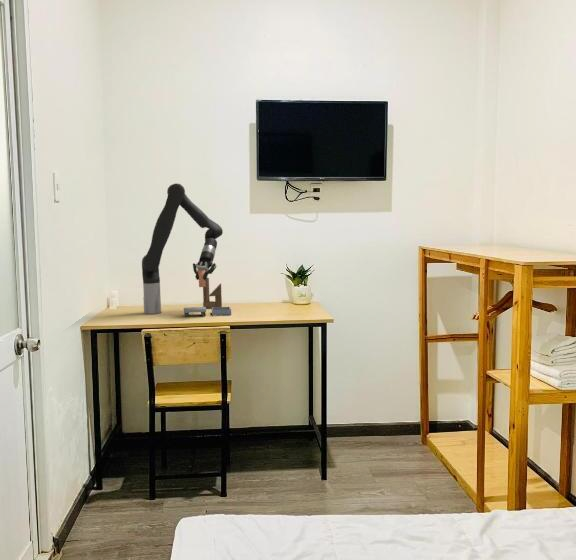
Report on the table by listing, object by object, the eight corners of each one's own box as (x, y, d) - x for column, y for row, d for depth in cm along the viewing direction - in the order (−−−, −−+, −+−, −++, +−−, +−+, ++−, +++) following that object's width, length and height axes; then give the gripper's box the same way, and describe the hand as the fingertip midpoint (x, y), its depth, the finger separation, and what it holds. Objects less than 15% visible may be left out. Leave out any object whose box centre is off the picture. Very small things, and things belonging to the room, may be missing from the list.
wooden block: (221, 307, 346) (221, 277, 344) (203, 308, 344) (202, 278, 342) (221, 306, 350) (220, 276, 348) (203, 307, 348) (202, 277, 346)
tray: (212, 315, 320) (212, 310, 320) (211, 312, 330) (211, 307, 330) (231, 315, 322) (231, 309, 322) (229, 311, 332) (229, 306, 332)
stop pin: (198, 287, 319) (197, 266, 317) (198, 286, 323) (197, 266, 322) (206, 286, 319) (205, 266, 318) (206, 285, 324) (205, 265, 322)
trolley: (183, 317, 317) (183, 310, 316) (184, 314, 325) (183, 307, 324) (206, 316, 319) (206, 309, 318) (205, 313, 327) (205, 306, 326)
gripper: (193, 250, 328) (186, 274, 318) (217, 250, 324) (210, 274, 314) (197, 259, 333) (190, 283, 323) (221, 258, 330) (214, 283, 320)
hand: (200, 278), depth 319 cm, fingers closed on stop pin, 3 cm apart
